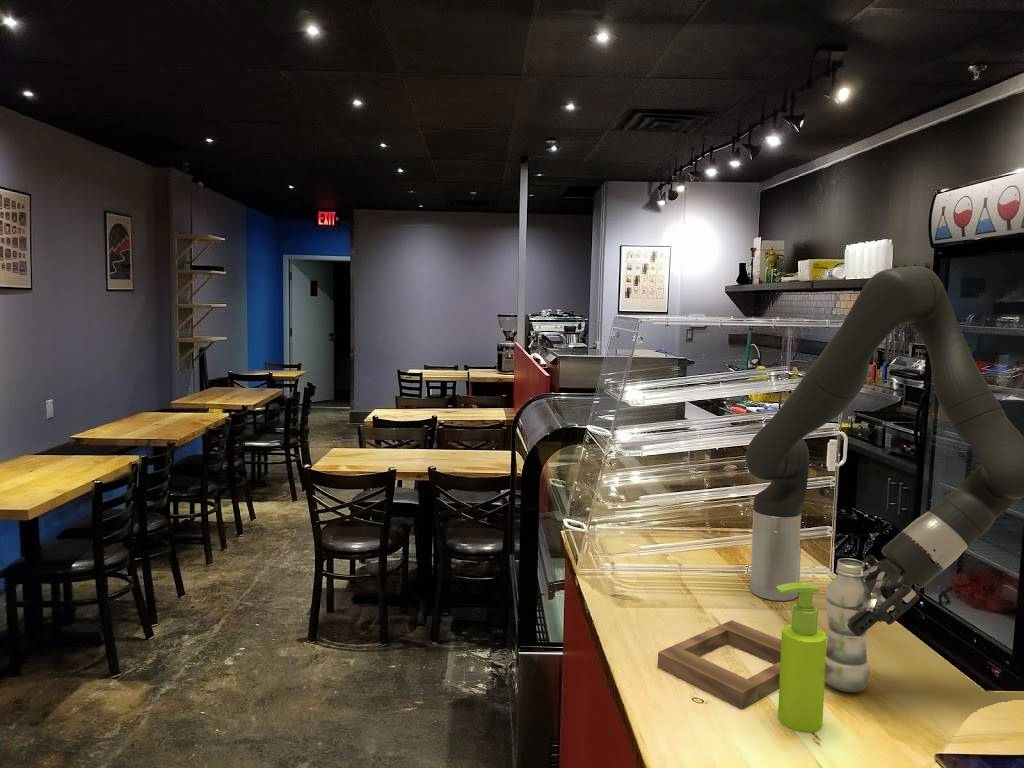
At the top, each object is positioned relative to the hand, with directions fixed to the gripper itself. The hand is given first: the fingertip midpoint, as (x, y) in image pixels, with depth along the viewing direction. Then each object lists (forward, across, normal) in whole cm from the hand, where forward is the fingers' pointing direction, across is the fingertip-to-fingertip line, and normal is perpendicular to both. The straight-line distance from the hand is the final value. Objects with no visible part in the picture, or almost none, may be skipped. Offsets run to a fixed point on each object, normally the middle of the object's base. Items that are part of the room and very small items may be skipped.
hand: (841, 619), depth 111 cm
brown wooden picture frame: (+18, -5, -2) cm, 19 cm away
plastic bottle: (+7, 0, +9) cm, 11 cm away
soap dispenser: (+14, +10, +1) cm, 18 cm away
